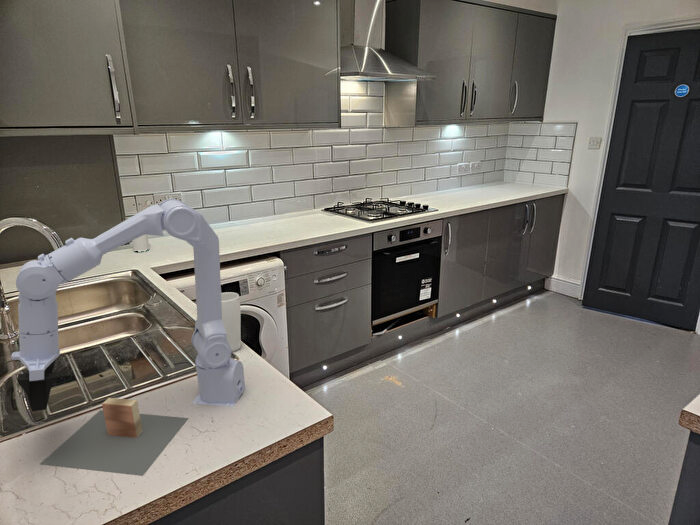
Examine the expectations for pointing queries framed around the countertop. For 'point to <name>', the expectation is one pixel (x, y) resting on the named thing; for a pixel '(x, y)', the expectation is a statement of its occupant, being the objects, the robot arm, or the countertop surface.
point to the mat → (116, 446)
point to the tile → (122, 417)
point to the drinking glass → (232, 318)
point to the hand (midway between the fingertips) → (40, 398)
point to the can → (140, 243)
